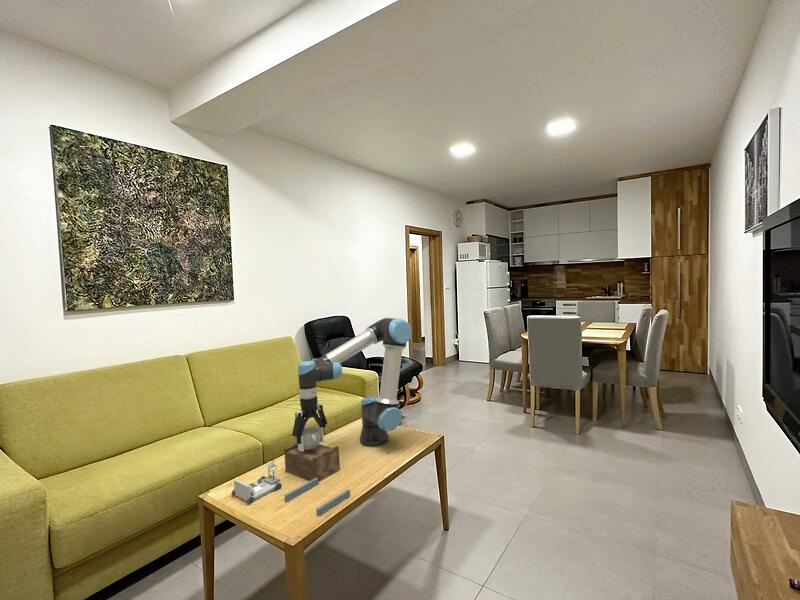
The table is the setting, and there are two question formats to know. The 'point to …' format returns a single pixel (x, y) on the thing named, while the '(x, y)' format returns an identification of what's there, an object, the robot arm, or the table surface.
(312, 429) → the teacup
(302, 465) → the walnut stand
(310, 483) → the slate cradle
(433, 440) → the table surface
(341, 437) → the table surface
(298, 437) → the robot arm
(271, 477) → the toy rover
